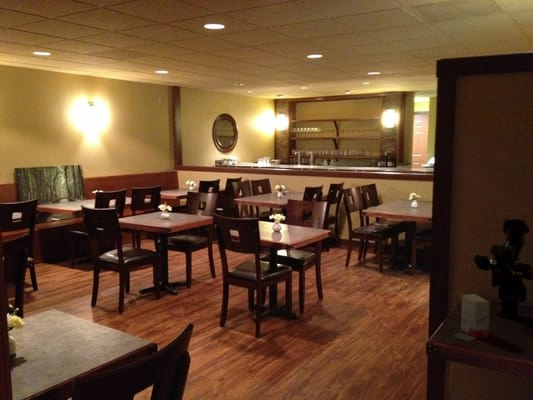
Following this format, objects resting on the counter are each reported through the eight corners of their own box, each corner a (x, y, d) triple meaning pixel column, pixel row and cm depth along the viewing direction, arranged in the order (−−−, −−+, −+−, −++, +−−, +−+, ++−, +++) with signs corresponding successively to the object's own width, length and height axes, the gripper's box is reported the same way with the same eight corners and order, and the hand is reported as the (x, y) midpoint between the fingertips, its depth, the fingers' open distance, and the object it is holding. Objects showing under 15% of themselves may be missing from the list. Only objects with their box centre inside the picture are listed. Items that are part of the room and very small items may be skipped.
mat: (460, 333, 150) (460, 332, 150) (476, 339, 145) (476, 338, 145) (452, 336, 147) (452, 335, 147) (468, 342, 143) (468, 341, 143)
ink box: (489, 338, 146) (491, 302, 145) (474, 339, 146) (476, 302, 144) (473, 327, 155) (475, 293, 154) (459, 328, 154) (461, 294, 153)
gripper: (477, 232, 164) (458, 267, 158) (532, 240, 149) (514, 279, 144) (487, 250, 169) (469, 285, 164) (542, 260, 154) (524, 299, 149)
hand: (493, 286), depth 155 cm, fingers closed
